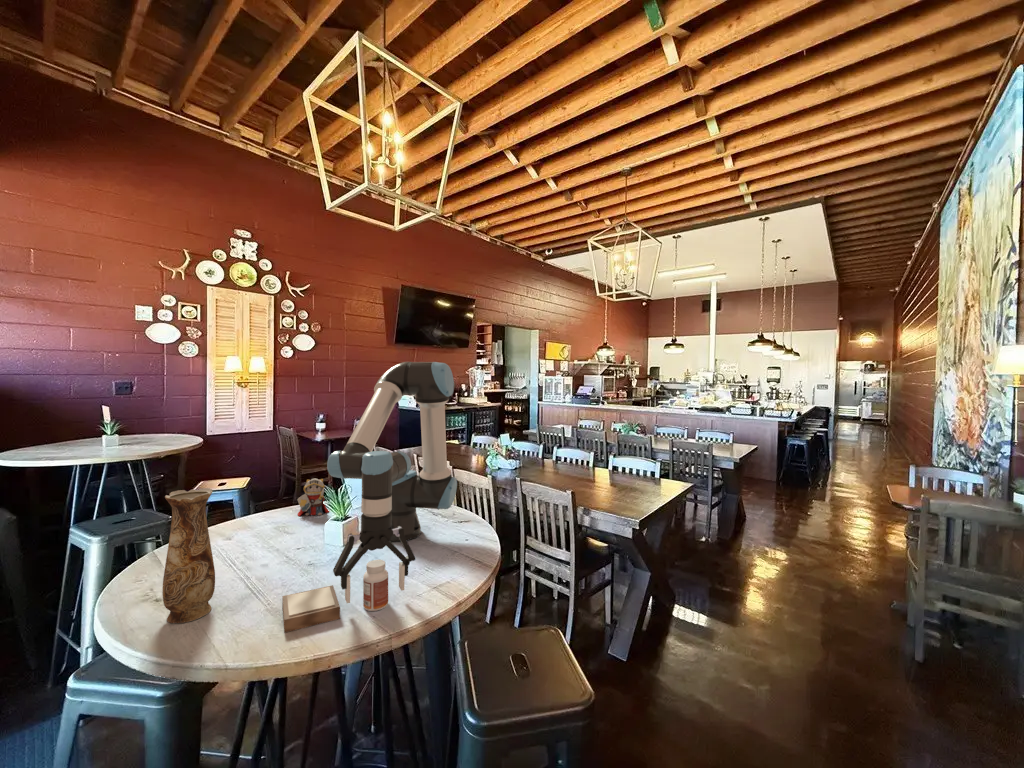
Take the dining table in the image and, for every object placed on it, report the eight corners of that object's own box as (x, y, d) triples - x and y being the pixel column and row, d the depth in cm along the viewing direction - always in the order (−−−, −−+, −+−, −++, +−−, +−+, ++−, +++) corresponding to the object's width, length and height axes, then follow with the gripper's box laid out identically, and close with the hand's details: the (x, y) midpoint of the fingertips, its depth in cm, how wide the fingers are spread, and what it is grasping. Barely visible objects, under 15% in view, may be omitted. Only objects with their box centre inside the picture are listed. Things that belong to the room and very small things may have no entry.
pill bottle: (390, 599, 115) (391, 558, 115) (385, 612, 109) (385, 568, 108) (366, 599, 115) (367, 558, 114) (360, 612, 108) (360, 568, 108)
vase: (161, 630, 99) (160, 501, 99) (164, 609, 108) (163, 490, 107) (215, 616, 105) (215, 494, 105) (214, 597, 114) (214, 485, 113)
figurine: (291, 518, 175) (291, 482, 175) (302, 509, 187) (302, 475, 186) (324, 518, 177) (324, 482, 176) (333, 509, 188) (333, 475, 188)
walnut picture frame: (332, 596, 116) (333, 584, 116) (339, 618, 105) (339, 605, 105) (282, 607, 110) (282, 594, 110) (284, 632, 99) (284, 618, 99)
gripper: (419, 502, 120) (417, 577, 121) (322, 515, 108) (321, 599, 108) (428, 509, 114) (426, 589, 114) (326, 524, 102) (324, 613, 102)
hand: (375, 594), depth 111 cm, fingers open, 13 cm apart
